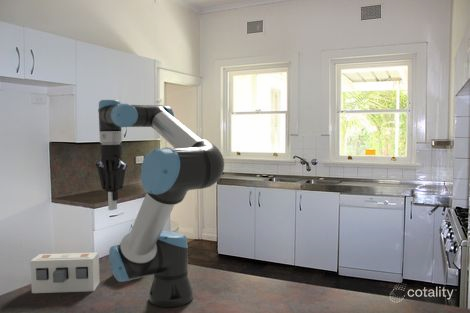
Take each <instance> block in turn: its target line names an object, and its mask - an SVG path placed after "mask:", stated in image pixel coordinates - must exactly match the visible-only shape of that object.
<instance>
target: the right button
mask: <svg viewBox="0 0 470 313" xmlns="http://www.w3.org/2000/svg"><path fill="white" fill-rule="evenodd" d="M87 277H88V267H77V268H76V279H84V278H87Z"/></svg>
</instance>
